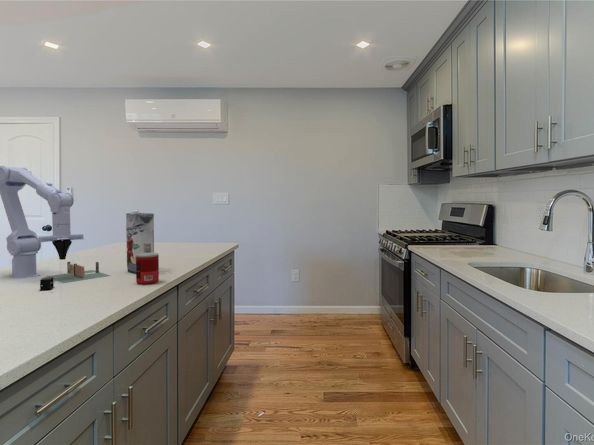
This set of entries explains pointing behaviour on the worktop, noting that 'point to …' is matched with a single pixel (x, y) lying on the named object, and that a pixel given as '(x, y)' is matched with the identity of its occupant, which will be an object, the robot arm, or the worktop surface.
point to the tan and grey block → (72, 268)
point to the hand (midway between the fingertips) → (62, 259)
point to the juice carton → (138, 236)
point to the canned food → (147, 268)
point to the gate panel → (79, 270)
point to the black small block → (46, 284)
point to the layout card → (71, 278)
